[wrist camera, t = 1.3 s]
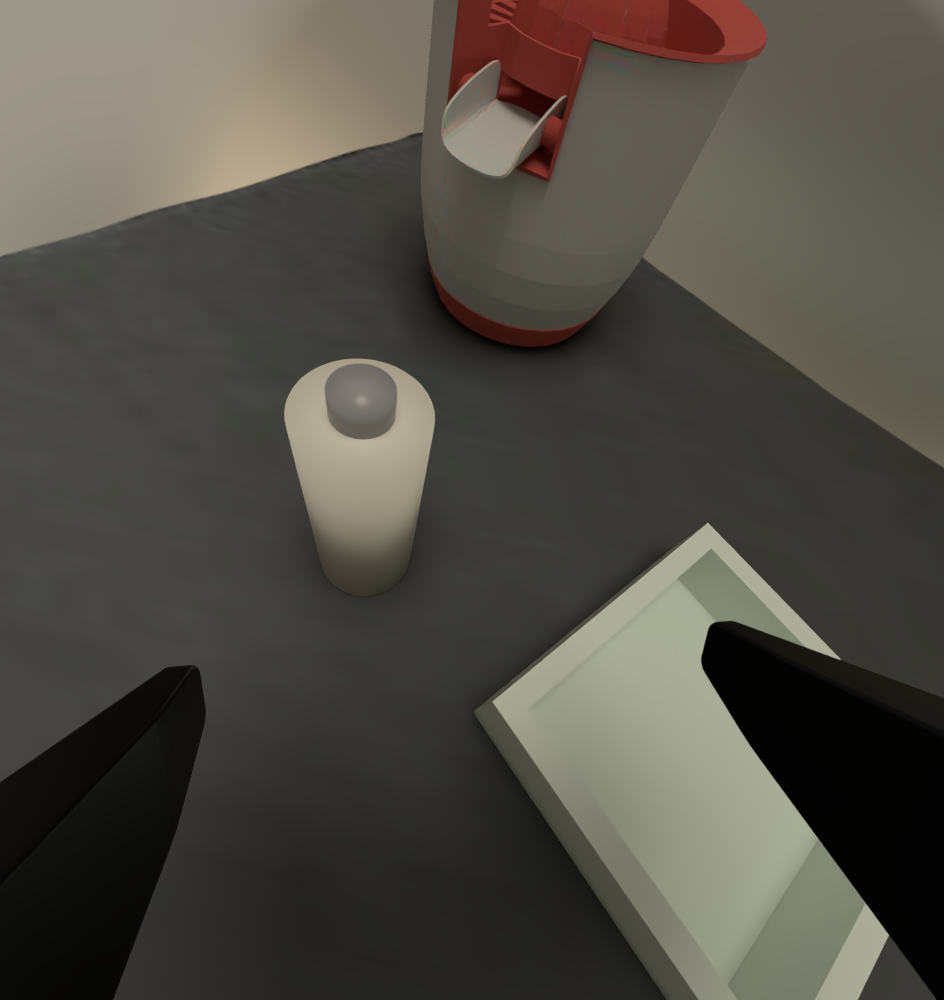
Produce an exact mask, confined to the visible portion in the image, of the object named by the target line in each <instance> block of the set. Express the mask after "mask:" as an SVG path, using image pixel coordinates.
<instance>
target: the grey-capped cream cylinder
mask: <svg viewBox="0 0 944 1000" xmlns="http://www.w3.org/2000/svg"><path fill="white" fill-rule="evenodd" d="M284 417H285V424H286V429H287V433H288V437H289V440H290V444H291V448H292V452H293V456H294V460H295V464H296V468H297V472H298V476H299V480H300V484H301V488H302V492H303V495H304V499H305V503H306V507H307V511H308V515H309V519H310V523H311V527H312V531H313V535H314V539H315V543H316V547H317V551H318V554H319V558H320V562H321V566H322V569H323V572H324V574H325V576H326V577H327V579H328V580H329V581H330V582H331V583H332V584H333V585H334V586H335V587H336V588H338V589H339V590H341V591H343V592H345V593H348V594H351V595H355V596H373V595H377V594H380V593H383V592H385V591H387V590H389V589H391V588H392V587H393V586H395V585H396V584H397V583H398V582H399V581H400V580H401V579H402V577H403V576H404V574H405V573H406V570H407V568H408V565H409V562H410V556H411V551H412V545H413V540H414V534H415V529H416V523H417V518H418V513H419V507H420V502H421V496H422V491H423V485H424V480H425V474H426V469H427V463H428V458H429V452H430V447H431V441H432V436H433V431H434V424H435V413H434V408H433V404H432V402H431V399H430V397H429V395H428V393H427V392H426V391H425V389H424V388H423V387H422V385H421V384H420V383H419V382H418V381H417V380H415V379H414V378H413V377H412V376H411V375H409V374H408V373H406V372H405V371H403V370H401V369H399V368H397V367H395V366H392V365H390V364H387V363H383V362H380V361H375V360H368V359H345V360H339V361H334V362H331V363H327V364H325V365H322V366H320V367H317V368H316V369H314V370H312V371H310V372H309V373H308V374H306V375H305V376H303V377H302V378H301V379H300V380H299V381H298V382H297V383H296V385H295V386H294V387H293V389H292V390H291V392H290V394H289V396H288V398H287V401H286V405H285V411H284Z"/></svg>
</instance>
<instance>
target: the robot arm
mask: <svg viewBox="0 0 944 1000" xmlns="http://www.w3.org/2000/svg"><path fill="white" fill-rule="evenodd" d="M701 664H702V668H703V671H704V672H705V674H706V676H707V677H708V679H709V681H710V682H711V684H712V686H713V687H714V689H715V690H716V692H717V694H718V695H719V697H720V699H721V700H722V702H723V703H724V705H725V707H726V708H727V710H728V712H729V713H730V715H731V716H732V718H733V720H734V721H735V723H736V725H737V726H738V728H739V729H740V731H741V733H742V734H743V736H744V737H745V739H746V740H747V742H748V743H749V745H750V746H751V748H752V749H753V751H754V752H755V753H756V755H757V756H758V758H759V759H760V760H761V762H762V763H763V765H764V766H765V767H766V769H767V770H768V771H769V773H770V774H771V775H772V777H773V778H774V780H775V781H776V782H777V784H778V785H779V786H780V788H781V789H782V790H783V792H784V793H785V794H786V796H787V797H788V799H789V800H790V801H791V803H792V804H793V805H794V807H795V808H796V809H797V811H798V812H799V814H800V815H801V816H802V818H803V819H804V820H805V822H806V823H807V824H808V826H809V827H810V829H811V830H812V831H813V833H814V834H815V835H816V837H817V838H818V839H819V841H820V842H821V843H822V845H823V846H824V848H825V849H826V850H827V852H828V853H829V854H830V856H831V857H832V858H833V860H834V861H835V863H836V864H837V865H838V867H839V868H840V869H841V871H842V872H843V873H844V875H845V876H846V877H847V879H848V880H849V882H850V883H851V884H852V886H853V887H854V888H855V890H856V891H857V892H858V894H859V895H860V897H861V898H862V899H863V901H864V902H865V903H866V905H867V906H868V907H869V909H870V910H871V912H872V913H873V914H874V916H875V917H876V918H877V920H878V921H879V922H880V924H881V925H882V926H883V928H884V929H885V931H886V932H887V933H888V935H889V936H890V937H891V939H892V940H893V941H894V943H895V944H896V946H897V947H898V948H899V950H900V951H901V952H902V954H903V955H904V956H905V958H906V959H907V961H908V962H909V963H910V965H911V966H912V967H913V969H914V970H915V971H916V973H917V974H918V975H919V977H920V978H921V980H922V981H923V982H924V984H925V985H926V986H927V988H928V989H929V990H930V992H931V993H932V995H933V996H934V997H935V999H936V1000H944V698H942V697H940V696H937V695H934V694H931V693H929V692H926V691H923V690H921V689H918V688H915V687H912V686H910V685H907V684H904V683H901V682H899V681H896V680H893V679H891V678H888V677H885V676H882V675H880V674H877V673H874V672H872V671H869V670H866V669H863V668H861V667H858V666H855V665H852V664H850V663H847V662H844V661H842V660H839V659H836V658H833V657H831V656H828V655H825V654H823V653H820V652H817V651H814V650H812V649H809V648H806V647H803V646H801V645H798V644H795V643H793V642H790V641H787V640H784V639H782V638H779V637H776V636H774V635H771V634H768V633H765V632H763V631H760V630H757V629H754V628H752V627H749V626H746V625H744V624H741V623H738V622H735V621H721V622H714V623H712V624H711V625H710V626H709V628H708V631H707V635H706V639H705V644H704V648H703V652H702V656H701ZM205 716H206V709H205V702H204V695H203V689H202V682H201V675H200V671H199V669H198V668H197V667H196V666H194V665H187V666H174V667H167V668H165V669H163V670H162V671H160V672H159V673H157V674H156V675H154V676H153V677H152V678H150V679H149V680H147V681H146V682H144V683H143V684H141V685H140V686H139V687H137V688H136V689H134V690H133V691H131V692H130V693H128V694H127V695H126V696H124V697H123V698H121V699H120V700H118V701H117V702H115V703H114V704H113V705H111V706H110V707H108V708H107V709H105V710H104V711H102V712H101V713H100V714H98V715H97V716H95V717H94V718H92V719H91V720H89V721H88V722H87V723H85V724H84V725H82V726H81V727H79V728H78V729H76V730H75V731H74V732H72V733H71V734H69V735H68V736H66V737H65V738H63V739H62V740H61V741H59V742H58V743H56V744H55V745H53V746H52V747H50V748H49V749H48V750H46V751H45V752H43V753H42V754H40V755H39V756H37V757H36V758H35V759H33V760H32V761H30V762H29V763H27V764H26V765H24V766H23V767H22V768H20V769H19V770H17V771H16V772H14V773H13V774H11V775H10V776H9V777H7V778H6V779H4V780H3V781H1V782H0V1000H113V998H114V996H115V993H116V990H117V988H118V985H119V983H120V980H121V977H122V975H123V972H124V969H125V967H126V964H127V961H128V959H129V956H130V953H131V951H132V948H133V945H134V943H135V940H136V937H137V935H138V932H139V929H140V927H141V924H142V921H143V919H144V916H145V913H146V911H147V908H148V906H149V903H150V900H151V898H152V895H153V892H154V890H155V887H156V884H157V882H158V879H159V876H160V874H161V871H162V868H163V866H164V863H165V860H166V858H167V855H168V852H169V850H170V847H171V844H172V841H173V838H174V835H175V833H176V830H177V826H178V823H179V819H180V816H181V812H182V808H183V804H184V801H185V797H186V793H187V789H188V785H189V781H190V778H191V774H192V770H193V766H194V762H195V759H196V755H197V751H198V747H199V743H200V739H201V736H202V732H203V728H204V724H205Z"/></svg>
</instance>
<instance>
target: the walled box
mask: <svg viewBox="0 0 944 1000" xmlns="http://www.w3.org/2000/svg"><path fill="white" fill-rule="evenodd" d="M721 621H735V622H738V623H741V624H744V625H746V626H749V627H752V628H754V629H757V630H760V631H763V632H765V633H768V634H771V635H774V636H776V637H779V638H782V639H784V640H787V641H790V642H793V643H795V644H798V645H801V646H803V647H806V648H809V649H812V650H814V651H817V652H820V653H823V654H825V655H828V656H831V657H833V658H836V659H839V660H841V659H840V658H839V657H838V656H837V655H836V654H835V653H834V652H833V651H832V650H831V649H830V648H829V647H828V646H827V645H826V644H825V643H824V642H823V641H822V640H821V639H820V638H819V637H818V636H817V635H816V634H815V633H814V631H813V630H812V629H811V628H810V627H809V626H808V625H807V624H806V623H805V622H804V621H803V620H802V619H801V618H800V617H799V616H798V615H797V614H796V613H795V612H794V611H793V610H792V609H791V608H790V607H789V606H788V605H787V604H786V603H785V602H784V601H783V600H782V599H781V598H780V597H779V595H778V594H777V593H776V592H775V591H774V590H773V589H772V588H771V587H770V586H769V585H768V584H767V583H766V582H765V581H764V580H763V579H762V578H761V577H760V576H759V575H758V574H757V573H756V572H755V571H754V570H753V569H752V568H751V567H750V566H749V565H748V564H747V563H746V562H745V561H744V560H743V558H742V557H741V556H740V555H739V554H738V553H737V552H736V551H735V550H734V549H733V548H732V547H731V546H730V545H729V544H728V543H727V542H726V541H725V540H724V539H723V538H722V537H721V536H720V535H719V534H718V533H717V532H716V531H715V530H714V529H713V528H712V527H711V526H710V525H709V524H708V523H707V524H706V525H704V526H703V527H701V528H700V529H699V530H697V531H696V532H694V533H693V534H692V535H690V536H689V537H687V538H686V539H685V540H683V541H682V542H681V543H679V544H678V545H676V546H675V547H674V548H672V549H671V550H669V551H668V552H667V553H665V554H664V555H663V556H662V557H660V558H659V559H658V560H657V561H656V562H654V563H653V564H652V565H651V566H649V567H648V568H647V569H646V570H645V571H643V572H642V573H641V574H640V575H639V576H637V577H636V578H635V579H634V580H632V581H631V582H630V583H629V584H628V585H626V586H625V587H624V588H623V589H621V590H620V591H619V592H618V593H617V594H615V595H614V596H613V597H612V598H611V599H609V600H608V601H607V602H606V603H604V604H603V605H602V606H601V607H600V608H598V609H597V610H596V611H595V612H594V613H592V614H591V615H590V616H589V617H587V618H586V619H585V620H584V621H583V622H581V623H580V624H579V625H578V626H577V627H575V628H574V629H573V630H572V631H570V632H569V633H568V634H567V635H566V636H564V637H563V638H562V639H561V640H560V641H558V642H557V643H556V644H555V645H553V646H552V647H551V648H550V649H549V650H547V651H546V652H545V653H544V654H542V655H541V656H540V657H539V658H538V659H536V660H535V661H534V662H533V663H532V664H530V665H529V666H528V667H527V668H525V669H524V670H523V671H522V672H521V673H519V674H518V675H517V676H516V677H515V678H513V679H512V680H511V681H510V682H508V683H507V684H506V685H505V686H504V687H502V688H501V689H500V690H499V691H498V692H496V693H495V694H494V695H493V696H491V697H490V698H489V699H488V700H487V701H485V702H484V703H483V704H482V705H481V706H479V707H478V708H477V709H476V710H474V711H473V713H474V715H475V716H476V718H477V719H478V721H479V722H480V724H481V725H482V727H483V728H484V730H485V731H486V733H487V734H488V735H489V737H490V738H491V740H492V741H493V743H494V744H495V746H496V747H497V749H498V750H499V752H500V753H501V755H502V756H503V758H504V759H505V761H506V762H507V764H508V765H509V767H510V768H511V770H512V771H513V773H514V774H515V776H516V777H517V779H518V780H519V782H520V783H521V785H522V786H523V788H524V789H525V791H526V792H527V794H528V795H529V796H530V798H531V799H532V801H533V802H534V804H535V805H536V807H537V808H538V810H539V811H540V813H541V814H542V816H543V817H544V819H545V820H546V822H547V823H548V825H549V826H550V828H551V829H552V831H553V832H554V834H555V835H556V837H557V838H558V840H559V841H560V843H561V844H562V846H563V847H564V849H565V850H566V852H567V853H568V854H569V856H570V857H571V859H572V860H573V862H574V863H575V865H576V866H577V868H578V869H579V871H580V872H581V874H582V875H583V877H584V878H585V880H586V881H587V883H588V884H589V886H590V887H591V889H592V890H593V892H594V893H595V895H596V896H597V898H598V899H599V901H600V902H601V904H602V905H603V907H604V908H605V910H606V911H607V913H608V914H609V915H610V917H611V918H612V920H613V921H614V923H615V924H616V926H617V927H618V929H619V930H620V932H621V933H622V935H623V936H624V938H625V939H626V941H627V942H628V944H629V945H630V947H631V948H632V950H633V951H634V953H635V954H636V956H637V957H638V959H639V960H640V962H641V963H642V965H643V966H644V968H645V969H646V971H647V972H648V973H649V975H650V976H651V978H652V979H653V981H654V982H655V984H656V985H657V987H658V988H659V990H660V991H661V993H662V994H663V996H664V997H665V999H666V1000H858V998H859V996H860V994H861V992H862V990H863V987H864V985H865V983H866V981H867V979H868V977H869V975H870V973H871V971H872V969H873V967H874V965H875V963H876V960H877V958H878V956H879V954H880V952H881V950H882V948H883V946H884V944H885V942H886V940H887V938H888V936H889V935H888V933H887V932H886V931H885V929H884V928H883V926H882V925H881V924H880V922H879V921H878V920H877V918H876V917H875V916H874V914H873V913H872V912H871V910H870V909H869V907H868V906H867V905H866V903H865V902H864V901H863V899H862V898H861V897H860V895H859V894H858V892H857V891H856V890H855V888H854V887H853V886H852V884H851V883H850V882H849V880H848V879H847V877H846V876H845V875H844V873H843V872H842V871H841V869H840V868H839V867H838V865H837V864H836V863H835V861H834V860H833V858H832V857H831V856H830V854H829V853H828V852H827V850H826V849H825V848H824V846H823V845H822V843H821V842H820V841H819V839H818V838H817V837H816V835H815V834H814V833H813V831H812V830H811V829H810V827H809V826H808V824H807V823H806V822H805V820H804V819H803V818H802V816H801V815H800V814H799V812H798V811H797V809H796V808H795V807H794V805H793V804H792V803H791V801H790V800H789V799H788V797H787V796H786V794H785V793H784V792H783V790H782V789H781V788H780V786H779V785H778V784H777V782H776V781H775V780H774V778H773V777H772V775H771V774H770V773H769V771H768V770H767V769H766V767H765V766H764V765H763V763H762V762H761V760H760V759H759V758H758V756H757V755H756V753H755V752H754V751H753V749H752V748H751V746H750V745H749V743H748V742H747V740H746V739H745V737H744V736H743V734H742V733H741V731H740V729H739V728H738V726H737V725H736V723H735V721H734V720H733V718H732V716H731V715H730V713H729V712H728V710H727V708H726V707H725V705H724V703H723V702H722V700H721V699H720V697H719V695H718V694H717V692H716V690H715V689H714V687H713V686H712V684H711V682H710V681H709V679H708V677H707V676H706V674H705V672H704V671H703V668H702V664H701V656H702V652H703V648H704V644H705V639H706V635H707V631H708V628H709V626H710V625H711V624H712V623H714V622H721Z"/></svg>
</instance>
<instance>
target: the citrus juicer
mask: <svg viewBox="0 0 944 1000" xmlns="http://www.w3.org/2000/svg"><path fill="white" fill-rule="evenodd" d="M765 43H766V32H765V28H764V27H763V25H762V23H761V22H760V20H759V19H758V17H757V16H756V15H755V14H754V13H753V12H752V11H751V10H750V9H749V8H748V7H747V6H745V5H744V4H743V3H742V2H740V1H739V0H434V6H433V19H432V31H431V43H430V56H429V68H428V80H427V92H426V105H425V117H424V130H423V142H422V162H421V196H422V209H423V222H424V233H425V239H426V244H427V254H428V263H429V267H430V270H431V274H432V277H433V280H434V283H435V286H436V289H437V291H438V294H439V297H440V299H441V301H442V302H443V304H444V305H445V307H446V308H447V310H448V311H449V312H450V313H451V314H452V315H453V316H454V317H455V318H456V319H457V320H458V321H460V322H461V323H462V324H464V325H465V326H467V327H468V328H469V329H471V330H473V331H475V332H477V333H479V334H480V335H482V336H484V337H487V338H490V339H492V340H495V341H498V342H501V343H506V344H510V345H515V346H525V347H536V346H547V345H551V344H555V343H559V342H561V341H563V340H565V339H567V338H569V337H571V336H572V335H573V334H574V333H576V332H577V331H578V330H580V329H581V328H582V327H583V326H584V325H585V324H587V323H588V322H589V321H590V320H591V319H592V318H594V317H595V316H596V315H597V314H598V313H599V312H600V310H601V309H602V307H603V306H604V305H605V304H606V303H607V302H608V300H609V299H610V298H611V297H612V296H613V295H614V294H615V293H616V292H617V291H618V290H619V288H620V287H621V286H622V285H623V283H624V282H625V281H626V279H627V278H628V277H629V275H630V274H631V273H632V271H633V270H634V269H635V268H636V266H637V265H638V263H639V261H640V260H641V258H642V257H643V255H644V253H645V252H646V250H647V248H648V246H649V245H650V243H651V242H652V240H653V238H654V237H655V235H656V233H657V232H658V230H659V228H660V227H661V225H662V223H663V221H664V219H665V218H666V216H667V214H668V212H669V210H670V208H671V206H672V205H673V203H674V201H675V199H676V197H677V195H678V193H679V191H680V189H681V188H682V186H683V184H684V182H685V180H686V179H687V177H688V175H689V173H690V171H691V169H692V167H693V165H694V164H695V162H696V160H697V158H698V156H699V154H700V152H701V150H702V149H703V147H704V145H705V143H706V141H707V139H708V138H709V136H710V134H711V132H712V130H713V128H714V126H715V124H716V122H717V121H718V119H719V117H720V115H721V113H722V111H723V110H724V108H725V106H726V104H727V102H728V100H729V98H730V97H731V95H732V93H733V91H734V89H735V87H736V85H737V83H738V82H739V80H740V78H741V76H742V74H743V72H744V70H745V69H746V67H747V65H748V63H749V61H750V59H751V58H753V57H756V56H757V55H760V53H761V51H762V50H763V48H764V47H765Z"/></svg>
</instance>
